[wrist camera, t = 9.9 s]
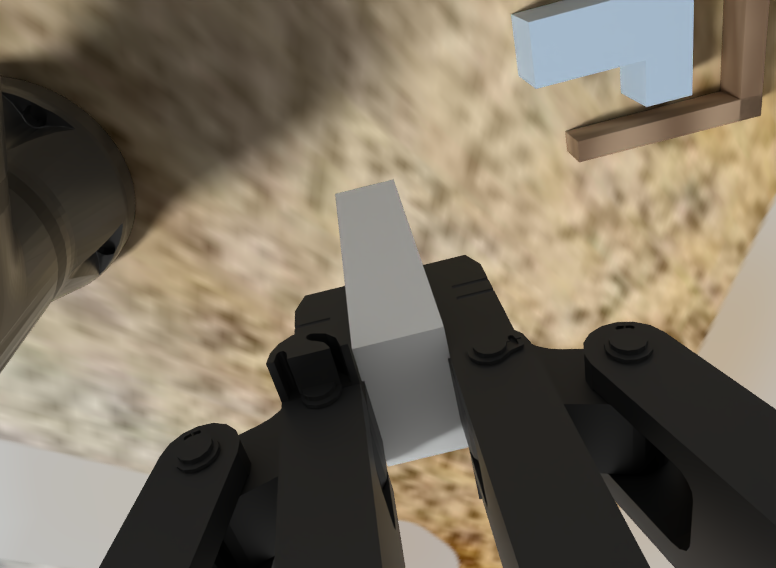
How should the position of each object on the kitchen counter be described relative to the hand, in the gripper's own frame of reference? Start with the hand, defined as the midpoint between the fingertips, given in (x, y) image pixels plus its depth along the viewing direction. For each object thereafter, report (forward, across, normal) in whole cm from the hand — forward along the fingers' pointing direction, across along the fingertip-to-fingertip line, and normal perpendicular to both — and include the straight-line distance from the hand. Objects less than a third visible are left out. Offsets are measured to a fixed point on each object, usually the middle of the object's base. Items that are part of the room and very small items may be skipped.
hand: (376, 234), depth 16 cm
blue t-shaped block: (+28, +17, -2) cm, 33 cm away
